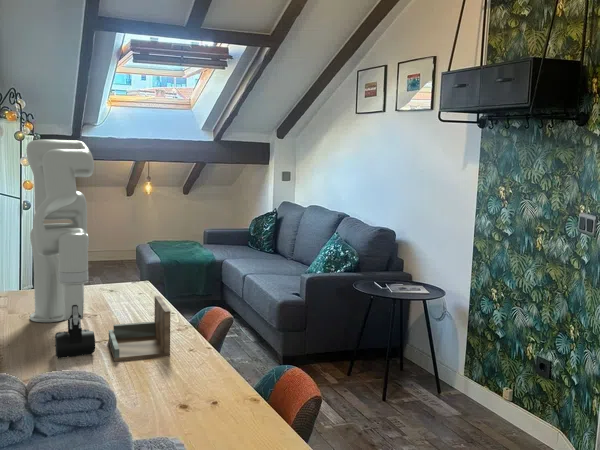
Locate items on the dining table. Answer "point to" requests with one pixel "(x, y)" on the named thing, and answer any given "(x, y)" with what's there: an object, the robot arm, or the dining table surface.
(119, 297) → the dining table surface
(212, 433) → the dining table surface
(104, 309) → the dining table surface
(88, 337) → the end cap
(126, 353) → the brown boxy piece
